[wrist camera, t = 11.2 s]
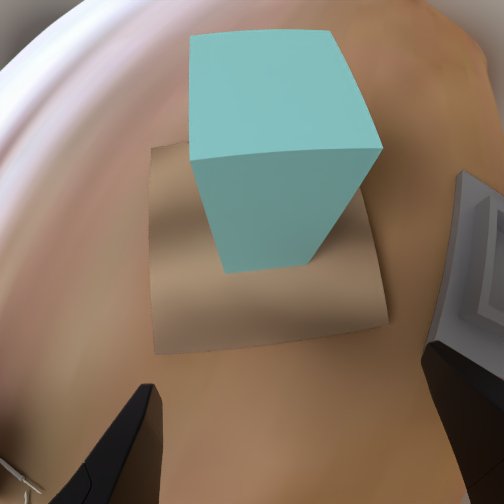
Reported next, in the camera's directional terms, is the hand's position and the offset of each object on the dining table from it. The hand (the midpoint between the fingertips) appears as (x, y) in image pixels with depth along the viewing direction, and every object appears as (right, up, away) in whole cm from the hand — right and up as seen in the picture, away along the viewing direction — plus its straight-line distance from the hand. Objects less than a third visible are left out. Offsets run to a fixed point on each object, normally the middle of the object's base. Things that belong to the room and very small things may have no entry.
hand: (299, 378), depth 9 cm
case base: (+17, +2, +9) cm, 19 cm away
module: (-1, +5, +9) cm, 10 cm away
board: (-1, +5, +10) cm, 11 cm away
